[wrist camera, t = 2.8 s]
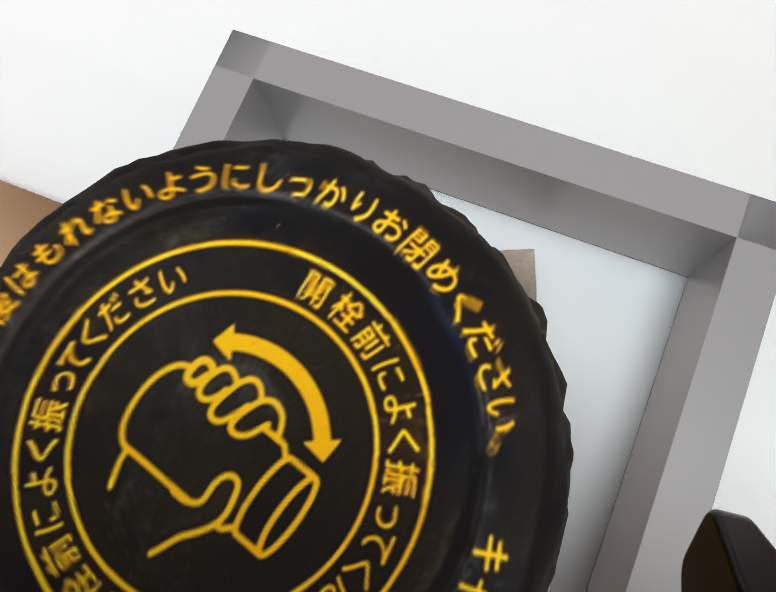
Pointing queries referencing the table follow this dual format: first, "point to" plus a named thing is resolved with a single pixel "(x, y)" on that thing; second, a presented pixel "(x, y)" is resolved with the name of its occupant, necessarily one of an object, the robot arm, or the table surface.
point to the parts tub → (569, 217)
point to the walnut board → (19, 214)
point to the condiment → (274, 386)
